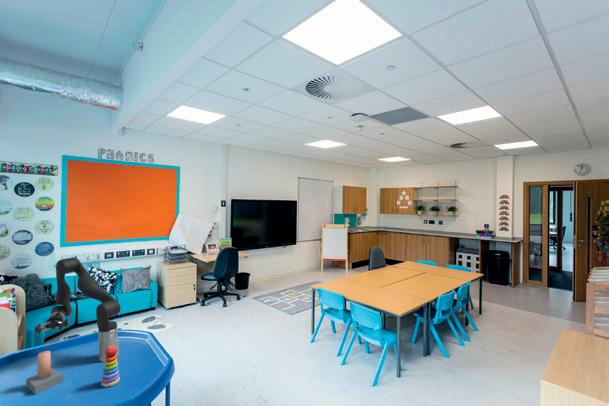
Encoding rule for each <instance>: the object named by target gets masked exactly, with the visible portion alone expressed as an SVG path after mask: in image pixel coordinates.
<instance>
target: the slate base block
mask: <svg viewBox="0 0 609 406" xmlns="http://www.w3.org/2000/svg"><path fill="white" fill-rule="evenodd" d="M63 378H64V374H63V373H61V372H60V371H58V370H56V368H52V367H51V376H50V377H48V378H46V379H42V380H39V379H38V374H36V375H33V376H31V377H28V378H26V379H25V385H26V388H27V389H28V390H30V391H31V392H32V393H33V394H34V395H37V394H39V393H42V392H44V391H46V390H48V389H50V388H53V387H55V386H57V385H59V384H62V383H63V382H64V379H63Z"/></svg>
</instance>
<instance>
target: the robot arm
mask: <svg viewBox="0 0 609 406" xmlns="http://www.w3.org/2000/svg"><path fill="white" fill-rule="evenodd" d="M70 273H75V274H76V275H77V278H78V279H77V282H76V283H77V284H76V285H77V286H76V287H77V289H78V290H79V291H80V293H82V295H83V296H85V297H87V298H90V299H91V300H92V299H93V300H96V301H99V302H100V304H97V306H96V308H95V309H96V310H95V317H96V325H97V329H98V331H97V333H98V361H100V362H104V363H105V361H106V360H105V358H106V357H107V356H106V354H105V351H106V349H107V348H108V347H110V346H115V347H116V348H117V352H116V355H117V357H119V356H120V339H118V323H117V322H116V321H114V320H109V318H111V317H113V316H114V317H115V316H117V315H118V314H119V313H120V312H121V309H122V308H121V305H120V302H119V301H118V300H117V299H116V298H114V297H113V296H112V295H110V293H109V292H107V291H106V290H105V289H104V287H103V286H101V284H99V282H98V281H97V280H96V279H95V278H94V277H93V276H92V275H91V274H90V273H89V272H88V270H87V269H86V268H85V267H84V265H83V263H82V262H81V260H79V259H78V258H77V257H68V258H64V259H60V260H58V261H57V262H56V265H55V275H56V277H55V278H56V294H55V295H56V296H55V303H56V304H57V305H55V306H53V307H52V308H51V310H50V316H49V317H48V318H47V319H46V322H45V323H44V324H41V323H38V324H37V325H36V326H35V327H34V333H37V334H39V335H40V334H41V333H42V332H46V331H48V330H56V329H58V331H61V330H62V329H63V328H64V327H68V326H69V318H66V317H69V316H70V315H71V314H72V310H73V309H72V304H71V294H72V293H71V292H72V289H71V287H70V285H69V284H68V283H67V281H66V280H65V279H66V274H67V275H68V274H70ZM65 318H66V319H65Z"/></svg>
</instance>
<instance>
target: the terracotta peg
mask: <svg viewBox="0 0 609 406" xmlns="http://www.w3.org/2000/svg"><path fill="white" fill-rule="evenodd" d="M51 360H52V357H51V350H44V351H41V352H39V353H38V354H37V375H38V379H39V380H42V379H46V378H48V377H50V376H51V369H52V361H51Z"/></svg>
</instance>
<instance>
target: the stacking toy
mask: <svg viewBox="0 0 609 406" xmlns="http://www.w3.org/2000/svg"><path fill="white" fill-rule="evenodd" d="M116 352H117V348H116V347H115V346H110V347H108V348H107V349H106V351H105V354H106V356H107V357H106V358H105V360H106V361H105V362H104V365H103V372H102V377H101V384H100V385H101V386H102V387H105V388H109V386H110V387H112V386H115V385H116V384H118V383H119V382H120V380H121V377H120V370H119V366H118V365H119V363H118V359H117V358H118V356H117V355H116Z"/></svg>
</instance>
